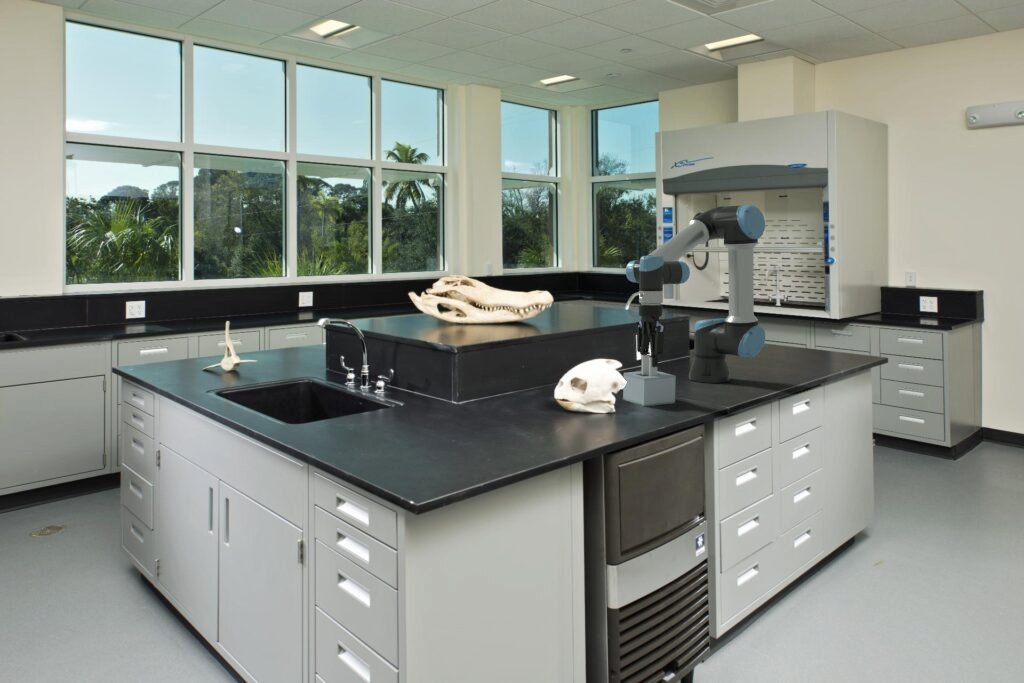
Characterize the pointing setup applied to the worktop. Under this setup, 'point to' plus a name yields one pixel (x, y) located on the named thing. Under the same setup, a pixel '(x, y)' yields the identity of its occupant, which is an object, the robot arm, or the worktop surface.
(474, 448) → the worktop surface
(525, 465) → the worktop surface
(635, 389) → the grey square hollow box
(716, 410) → the worktop surface
